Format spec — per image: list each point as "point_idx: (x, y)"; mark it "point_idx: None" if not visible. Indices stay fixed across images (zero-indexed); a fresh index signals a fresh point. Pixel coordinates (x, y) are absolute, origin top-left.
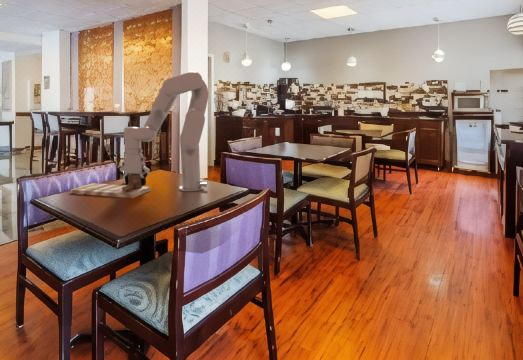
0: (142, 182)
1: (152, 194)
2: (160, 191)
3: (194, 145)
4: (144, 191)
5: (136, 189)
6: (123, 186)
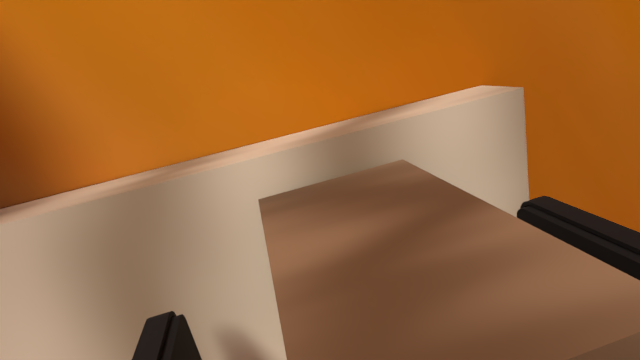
0: None
1: None
2: (625, 48)
3: None
4: None
5: None
6: (30, 323)
